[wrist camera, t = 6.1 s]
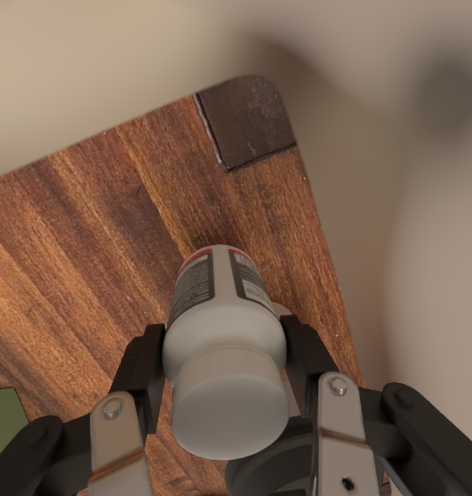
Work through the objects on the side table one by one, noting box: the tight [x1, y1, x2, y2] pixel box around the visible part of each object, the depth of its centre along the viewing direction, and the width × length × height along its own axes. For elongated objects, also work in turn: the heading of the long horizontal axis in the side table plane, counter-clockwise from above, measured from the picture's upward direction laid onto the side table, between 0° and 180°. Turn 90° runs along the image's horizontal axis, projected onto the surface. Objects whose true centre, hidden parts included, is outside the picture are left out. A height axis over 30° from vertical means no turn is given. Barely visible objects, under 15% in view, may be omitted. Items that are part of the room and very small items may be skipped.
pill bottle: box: [162, 245, 290, 460], centre depth 13 cm, size 5×5×10 cm
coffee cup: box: [225, 302, 384, 496], centre depth 20 cm, size 9×9×15 cm
